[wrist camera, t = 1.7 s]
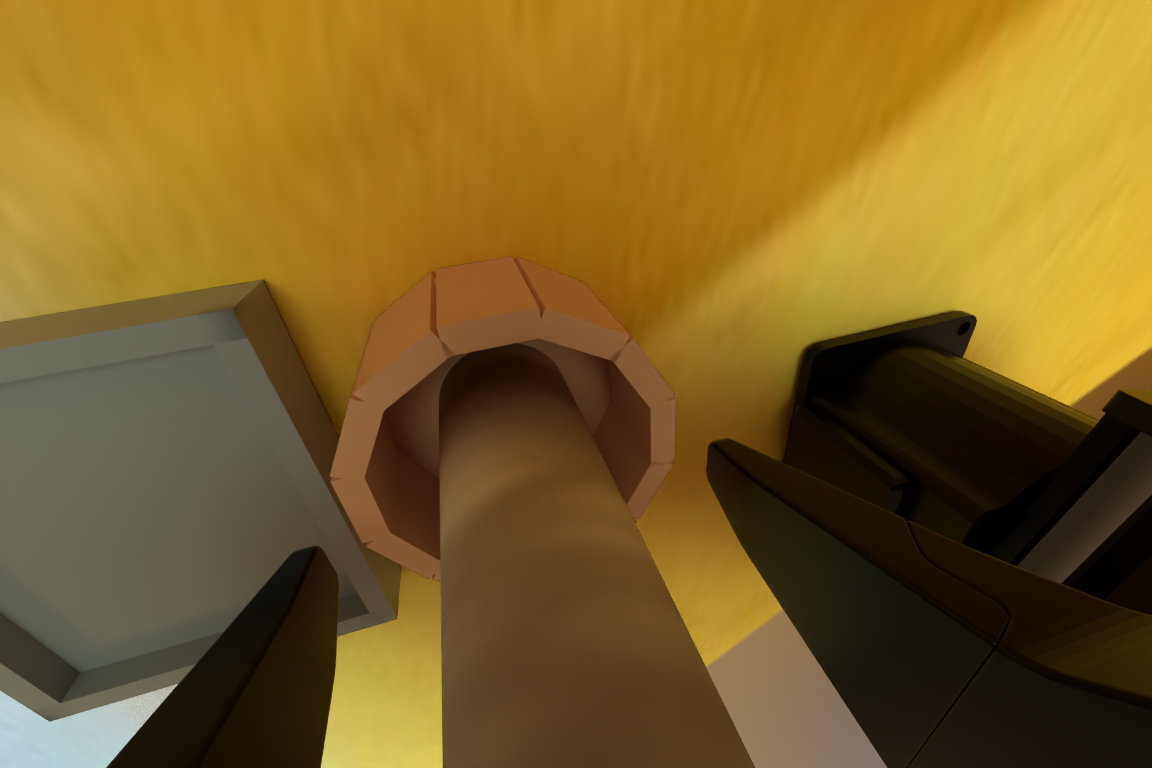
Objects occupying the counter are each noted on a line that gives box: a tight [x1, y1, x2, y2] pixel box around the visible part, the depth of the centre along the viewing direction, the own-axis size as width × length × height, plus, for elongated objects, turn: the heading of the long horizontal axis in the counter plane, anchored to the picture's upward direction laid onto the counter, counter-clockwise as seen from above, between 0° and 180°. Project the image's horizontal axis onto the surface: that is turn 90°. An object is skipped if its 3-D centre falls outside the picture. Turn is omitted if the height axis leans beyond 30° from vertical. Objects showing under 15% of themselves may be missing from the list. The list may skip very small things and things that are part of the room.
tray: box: [0, 280, 401, 721], centre depth 11 cm, size 9×10×2 cm
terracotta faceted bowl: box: [330, 256, 676, 581], centre depth 11 cm, size 7×7×4 cm
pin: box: [439, 343, 755, 768], centre depth 8 cm, size 3×3×10 cm
